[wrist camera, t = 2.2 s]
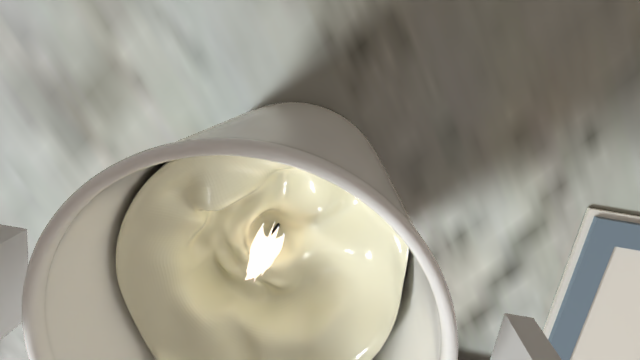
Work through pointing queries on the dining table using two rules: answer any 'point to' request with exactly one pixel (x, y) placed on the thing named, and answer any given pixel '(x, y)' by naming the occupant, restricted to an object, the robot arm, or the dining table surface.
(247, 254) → the candle holder
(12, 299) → the robot arm
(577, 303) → the marked square
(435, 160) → the dining table surface
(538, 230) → the dining table surface
